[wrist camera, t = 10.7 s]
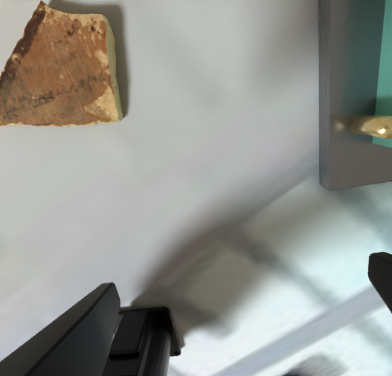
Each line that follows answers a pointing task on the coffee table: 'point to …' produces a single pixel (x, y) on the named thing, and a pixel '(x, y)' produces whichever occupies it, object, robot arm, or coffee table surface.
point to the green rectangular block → (385, 74)
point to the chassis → (351, 95)
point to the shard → (61, 72)
